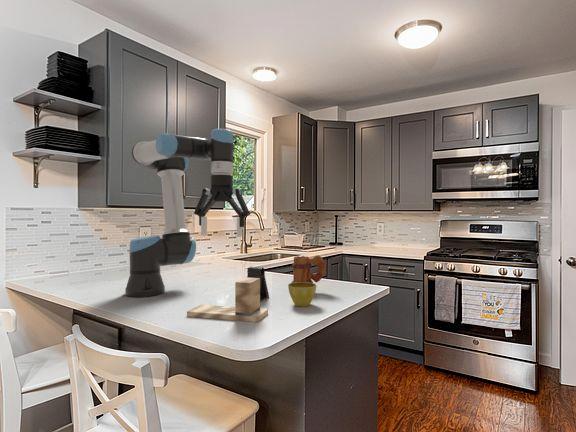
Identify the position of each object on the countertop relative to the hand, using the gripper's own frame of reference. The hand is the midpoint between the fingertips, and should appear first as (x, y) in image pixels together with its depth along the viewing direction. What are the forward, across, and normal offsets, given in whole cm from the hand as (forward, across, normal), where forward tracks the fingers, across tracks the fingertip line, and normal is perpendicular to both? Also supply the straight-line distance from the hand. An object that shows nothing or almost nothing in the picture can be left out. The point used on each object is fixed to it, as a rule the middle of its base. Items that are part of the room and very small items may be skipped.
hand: (221, 236), depth 124 cm
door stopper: (+25, +8, +13) cm, 29 cm away
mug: (+25, +24, +31) cm, 47 cm away
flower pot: (+24, +27, +9) cm, 38 cm away
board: (+24, +7, -9) cm, 27 cm away
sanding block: (+23, +14, -9) cm, 28 cm away
